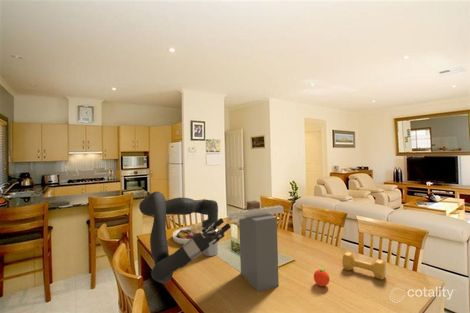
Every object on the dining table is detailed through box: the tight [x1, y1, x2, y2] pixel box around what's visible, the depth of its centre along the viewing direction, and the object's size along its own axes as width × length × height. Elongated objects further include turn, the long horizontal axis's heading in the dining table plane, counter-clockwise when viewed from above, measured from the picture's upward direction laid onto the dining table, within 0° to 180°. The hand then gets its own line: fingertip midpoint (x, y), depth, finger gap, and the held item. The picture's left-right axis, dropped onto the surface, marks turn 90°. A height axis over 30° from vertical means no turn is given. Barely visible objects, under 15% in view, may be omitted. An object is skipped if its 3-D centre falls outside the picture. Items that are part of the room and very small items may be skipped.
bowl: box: [172, 225, 202, 246], centre depth 177 cm, size 30×30×8 cm
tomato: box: [313, 268, 330, 287], centre depth 112 cm, size 8×7×7 cm
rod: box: [227, 204, 284, 221], centre depth 115 cm, size 3×28×3 cm, turn 113°
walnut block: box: [246, 200, 261, 210], centre depth 123 cm, size 5×5×5 cm
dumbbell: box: [341, 251, 387, 281], centre depth 121 cm, size 19×9×8 cm, turn 49°
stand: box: [238, 214, 280, 293], centre depth 118 cm, size 18×11×32 cm, turn 23°
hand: (225, 222), depth 109 cm, fingers open, 8 cm apart
